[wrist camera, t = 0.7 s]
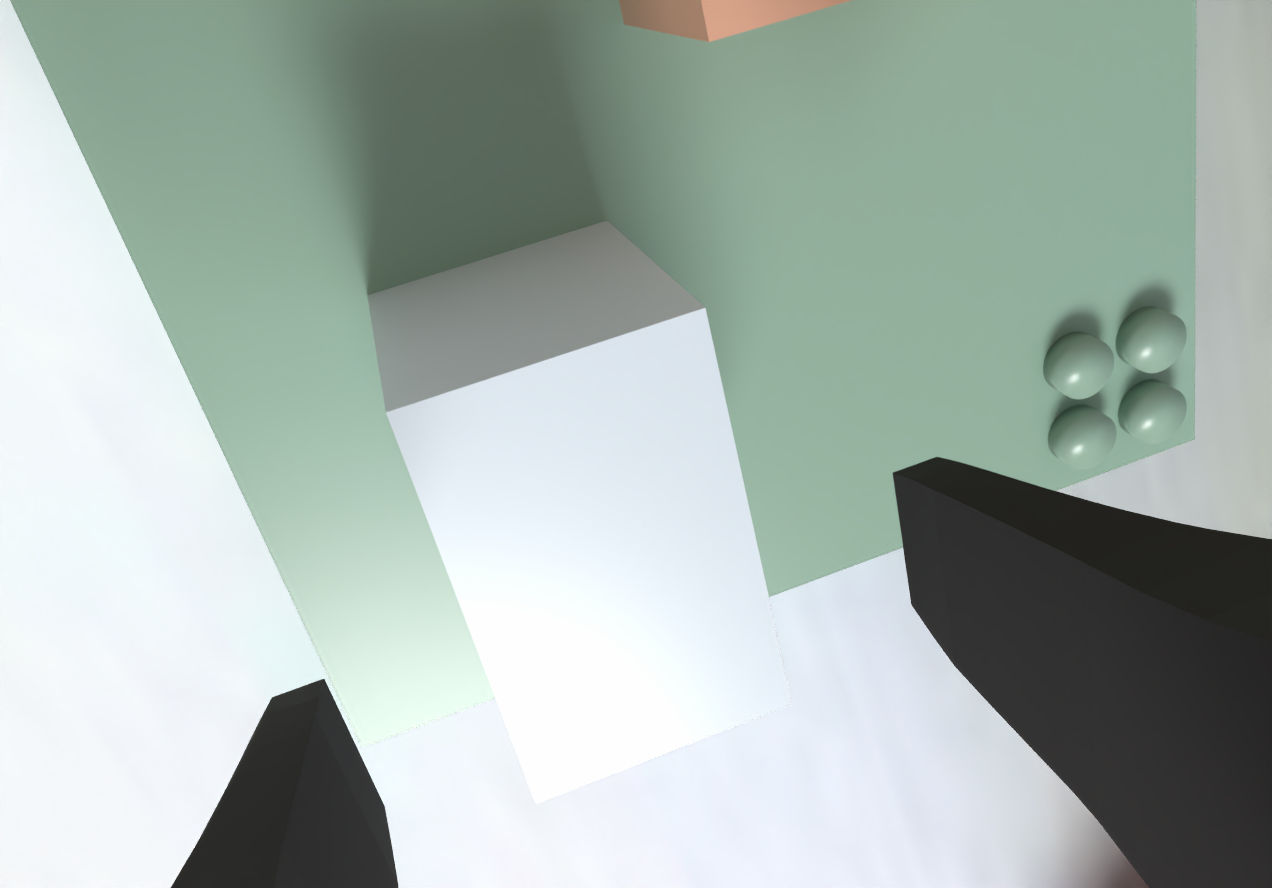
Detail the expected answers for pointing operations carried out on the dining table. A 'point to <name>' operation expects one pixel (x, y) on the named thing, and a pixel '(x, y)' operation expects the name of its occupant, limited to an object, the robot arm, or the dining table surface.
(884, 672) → the dining table surface
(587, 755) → the white brick
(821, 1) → the terracotta brick
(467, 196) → the building board
